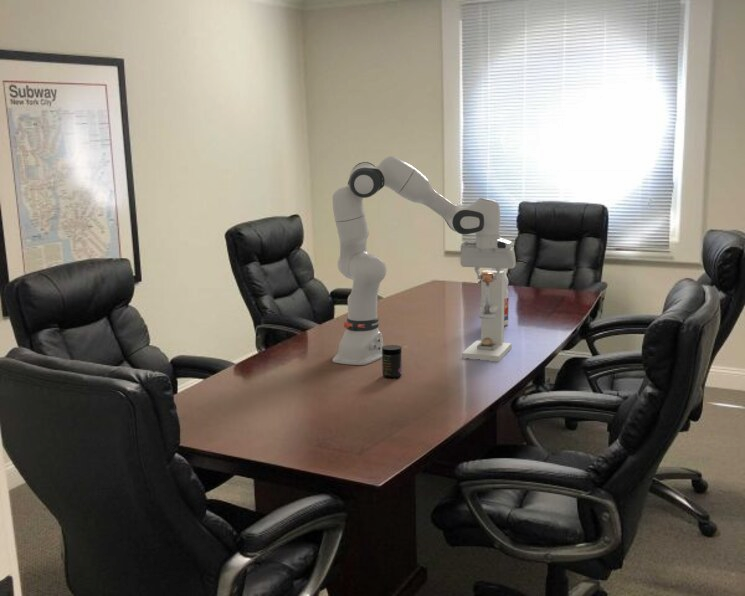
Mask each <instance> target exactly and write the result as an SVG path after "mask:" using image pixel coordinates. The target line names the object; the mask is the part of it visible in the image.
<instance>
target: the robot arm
mask: <svg viewBox="0 0 745 596" xmlns="http://www.w3.org/2000/svg"><path fill="white" fill-rule="evenodd" d="M384 187H386V188H389V189H390V190H392V191H393V192H394V193H396V194H398V195H399V196H400V197H402V198H404V199H406V200H408V201H410V202H412V203H417V204H421V205H424V206H426V207H427V208H429V209H431V210H432V211H433V212H435V213H436V214H438V215H439V216H441V218H442V219H444V221H445V222H446V224H447V227H449V228H450V230H452V231H454V232H456V233H458V234H459V235H471V234H475V241H469V242H468V241H465V242H462V243H461V245H460V253H461V255H460V265H461V267H463V268H474V271H475V274H476V275H477V280H481V279H482V274H481V272H480V268H483V269H492V268H496V271H497V273H496V275H493V280H498V274H499V273H500V271H501V268H504V269H508V270H512V269H514V268H515V267H516V263H517V261H516V254H515V249H513V244H514V243H513V241H512V240H509V239H506V238H503V237H502V236H501V232H500V224H501V209H500V204H499V203H498V202H497V201H496V200H495V199H491V198H486V197H485V198H484V197H480V198H478V199H477V200H475V201H474V202H472V203H471V204H468V205H467V206H465V205H463V204H461V205H460V204H456V203H453V202H452V201H450V200H449V199H447V198H445V196H443V195H441V194H440V193H439V192H437V191H436V190H435V189H434V188H433V186H432V184H431V183H430V180H429V179H428V178H427V176H425V175H424V174H423V173H422V172H421V171H420V170H418V169H417V168H415V167H414V166H413V165H411V164H409V163H408V162H406V161H404V160H402V159H400V158H399V157H395V156H393V155H391V156H388V157H385V158H384V159H382V161H381V162H380V163H379V164H378V165H377V166H375V165H374V164H373V163H371V162H368V161H367V162H366V161H363V162H359V163H357V164H355V165H354V167H352V170H351V171H350V173H349V178H348V182H347V185H346V186H344V187H343V186H342V187H340V188H338V189H337V190H335V191H334V193H333V194H332V210H333V217H334V221H335V225H336V229H337V235H338V238H339V257H338V260H337V268H338V271H339V272H340V274H341V275H342V276H344V277H345V278H347V279H349V280H352V282H353V283H352V288H351V293H350V294H349V295H348V297H347V319H346V321H345V322H344V323H343V327H344V328H345V331H344V333H343V334H342V335H343V336H342V338H341V340H340V342H339V344H338V352H337V353H336V354H335V356H334V357H333V358H332V362H333V363H336V364H341V365H342V364H343V365H351V366H352V365H353V366H354V365H355V366H356V365H357V366H363V365H364V366H365V365H368V364H371V363H373V362H375V361H378V360H380V359H382V347H383V346H384V340H383V333H382V332H381V331H380V329H379V327H380V326H379V325H380V322H379V321H380V320H379V317H378V295H379V290H380V286H381V283H382V282H383V280H384V279H385V277H386V275H387V266H386V264H385V262H384V261H383V259H381V258H380V257H378V256H377V255H375V254H371V253H368V250H367V240H368V238H369V234H370V233H369V228H368V224H367V219H366V215H365V210H364V205H363V199H367V198H370V197H373V196H374V195H376V194H377V193H378V192H379V191H380V190H382V189H383V188H384Z"/></svg>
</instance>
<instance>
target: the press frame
mask: <svg viewBox="0 0 745 596" xmlns="http://www.w3.org/2000/svg"><path fill="white" fill-rule="evenodd" d="M484 272H492V273H494V275H496V273H497V271H492V270H488V269H486V270H485V269H484V270H482V271H481V272H480V274H482V273H484ZM505 274H506V271H505V270H504V271H500V273H499V274H498V280H494V281H493V282H490V308H489V312H494V313H496V317H495V318H493V319H482V318H480V340H478V339H477V340H475V341H474V342H473V343H472V344H471V345H469V346H468V347H467V348H466V349H465V350H464V351H463V352H462V353H461V359H464V358H470V359H469V360H475V359H480V360H479V361H487V360H489V361H488V362H500V361H501V360H502V359H503V358H504V357H505V355H507V354H508V352H510V350H511V349H512V346H513V345H512V344H513V343H512V342H505V326H504V289H505ZM480 280H481V282H480V283H481V284H480V285H481V286H480V289H481V291H480V292H481V295H480V303H481V304H480V307H479V309H478V310H479V311H478V312H479V313H480V312H485V282H482V279H480ZM484 338H490V339H491V340H492V342H493V344H492V346H491V347H487V346H483V345H482V340H483V339H484Z"/></svg>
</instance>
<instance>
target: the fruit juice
mask: <svg viewBox="0 0 745 596" xmlns="http://www.w3.org/2000/svg"><path fill="white" fill-rule="evenodd" d="M504 269H505V268H501V271H505V270H504ZM491 271H496V268H491ZM508 286H509V278H508V276H507V274H506V273H505V289H504V327H505V326H508V325H509V300H510V299H509V297H510V296H509V289H508Z"/></svg>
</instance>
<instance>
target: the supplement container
mask: <svg viewBox="0 0 745 596" xmlns="http://www.w3.org/2000/svg"><path fill="white" fill-rule="evenodd" d="M402 356H403V355H402V346H401V345H397V344H387V345H383V347H382V358H381V363H382V367H381V368H382V369H381V370H382V373H381V374H382V377H383V378H384V379H387V380H397V379H400V378H401V377H402V376H403V372H402V371H403V368H402V367H403V366H402V364H403V363H402V358H403V357H402Z"/></svg>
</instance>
